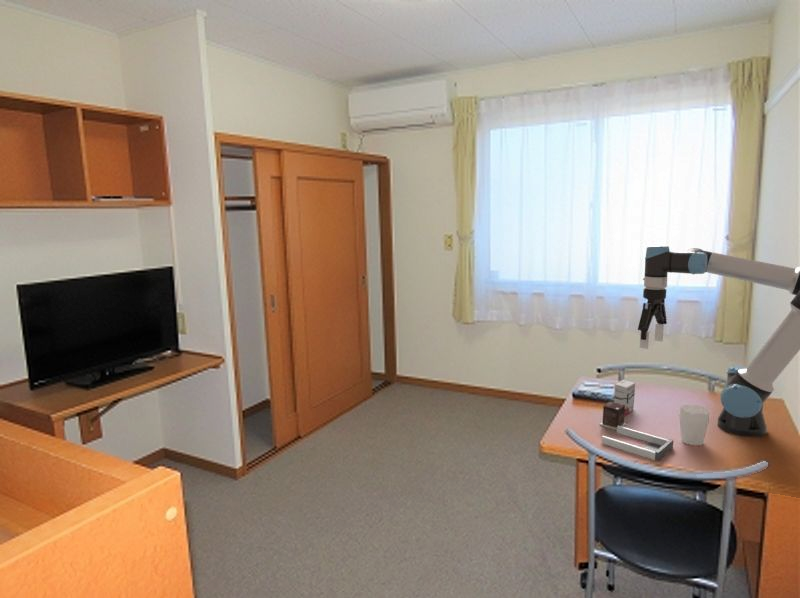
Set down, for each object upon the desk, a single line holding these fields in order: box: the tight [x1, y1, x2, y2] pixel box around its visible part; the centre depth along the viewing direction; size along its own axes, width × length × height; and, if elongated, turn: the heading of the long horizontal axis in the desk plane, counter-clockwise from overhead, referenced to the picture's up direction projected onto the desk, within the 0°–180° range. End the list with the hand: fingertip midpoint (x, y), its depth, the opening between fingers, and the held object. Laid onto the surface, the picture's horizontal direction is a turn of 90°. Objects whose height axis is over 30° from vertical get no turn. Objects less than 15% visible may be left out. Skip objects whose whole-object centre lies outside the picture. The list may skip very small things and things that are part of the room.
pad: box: [599, 421, 627, 431], centre depth 201 cm, size 7×7×1 cm
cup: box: [678, 404, 710, 446], centre depth 184 cm, size 9×9×12 cm
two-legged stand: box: [601, 425, 674, 461], centre depth 183 cm, size 19×13×3 cm
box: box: [602, 401, 625, 428], centre depth 200 cm, size 6×6×7 cm
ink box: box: [613, 379, 636, 416], centre depth 213 cm, size 8×5×12 cm, turn 134°
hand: (651, 344), depth 197 cm, fingers open, 13 cm apart
